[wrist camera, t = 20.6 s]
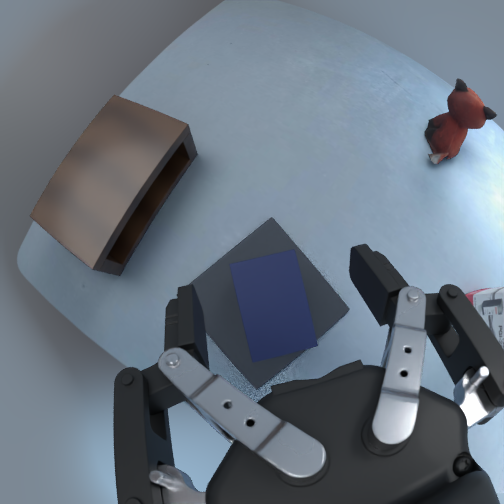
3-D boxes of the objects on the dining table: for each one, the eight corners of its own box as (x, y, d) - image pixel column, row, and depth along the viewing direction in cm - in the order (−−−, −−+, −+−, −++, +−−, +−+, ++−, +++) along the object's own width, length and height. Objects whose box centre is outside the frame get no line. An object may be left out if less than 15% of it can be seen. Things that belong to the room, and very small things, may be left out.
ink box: (460, 295, 33) (519, 288, 21) (481, 288, 33) (538, 280, 21) (463, 353, 32) (521, 362, 20) (484, 344, 32) (540, 349, 20)
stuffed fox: (409, 154, 36) (453, 111, 25) (424, 110, 38) (459, 68, 26) (447, 183, 36) (496, 150, 24) (458, 136, 38) (497, 101, 26)
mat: (256, 388, 31) (256, 389, 30) (177, 295, 33) (176, 294, 32) (348, 309, 33) (350, 309, 32) (271, 218, 34) (271, 216, 34)
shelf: (119, 276, 33) (92, 269, 26) (59, 229, 34) (29, 216, 27) (197, 154, 36) (188, 124, 29) (131, 123, 36) (114, 94, 30)
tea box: (250, 342, 31) (252, 363, 20) (234, 276, 32) (228, 263, 22) (294, 331, 32) (318, 346, 21) (279, 266, 33) (294, 248, 22)
